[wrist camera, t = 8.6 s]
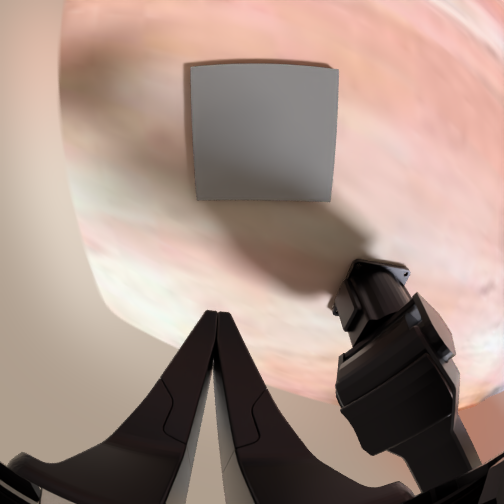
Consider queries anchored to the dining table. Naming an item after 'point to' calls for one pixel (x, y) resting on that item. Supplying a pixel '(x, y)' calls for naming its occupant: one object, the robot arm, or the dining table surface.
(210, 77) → the slate coaster
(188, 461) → the robot arm
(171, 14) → the dining table surface
